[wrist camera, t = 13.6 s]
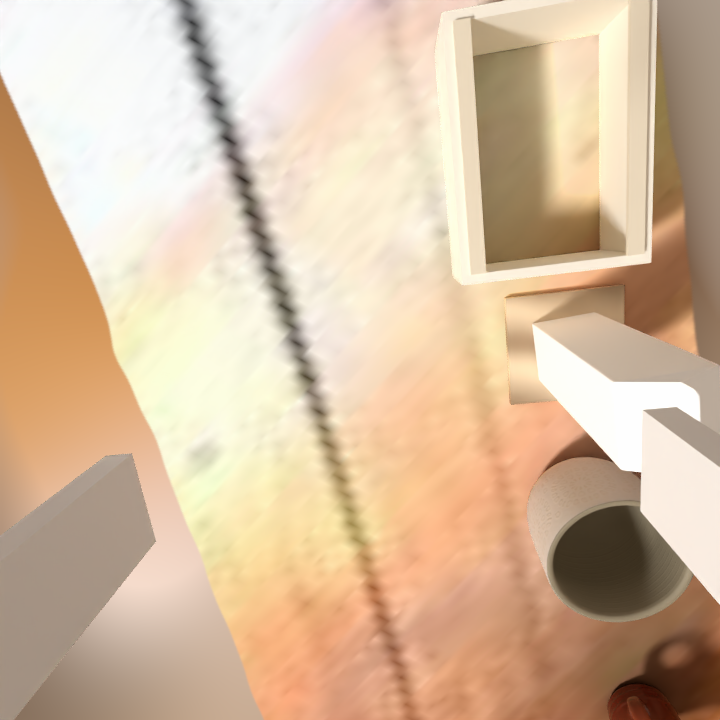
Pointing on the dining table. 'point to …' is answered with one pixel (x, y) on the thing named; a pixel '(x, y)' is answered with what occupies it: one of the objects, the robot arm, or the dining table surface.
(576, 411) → the milk
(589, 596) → the planter
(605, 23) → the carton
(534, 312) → the mat
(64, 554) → the robot arm
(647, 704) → the mug
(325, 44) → the dining table surface
